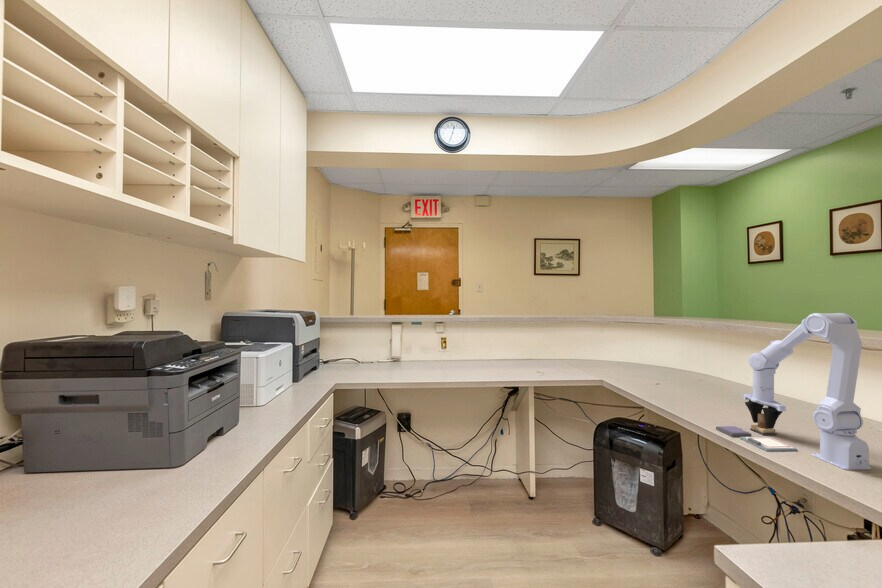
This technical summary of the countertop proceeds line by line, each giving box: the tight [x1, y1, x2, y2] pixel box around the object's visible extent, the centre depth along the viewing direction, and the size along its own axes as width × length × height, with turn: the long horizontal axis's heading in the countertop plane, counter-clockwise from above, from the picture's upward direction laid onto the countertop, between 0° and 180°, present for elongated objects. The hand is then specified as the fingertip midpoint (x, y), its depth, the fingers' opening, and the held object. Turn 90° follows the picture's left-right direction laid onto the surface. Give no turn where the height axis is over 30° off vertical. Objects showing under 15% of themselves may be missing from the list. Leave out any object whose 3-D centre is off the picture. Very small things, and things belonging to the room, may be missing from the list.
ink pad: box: [715, 425, 752, 438], centre depth 131 cm, size 7×7×1 cm
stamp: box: [749, 412, 777, 436], centre depth 131 cm, size 5×5×6 cm
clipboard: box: [739, 435, 798, 452], centre depth 121 cm, size 10×10×1 cm
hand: (763, 425), depth 131 cm, fingers open, 5 cm apart
